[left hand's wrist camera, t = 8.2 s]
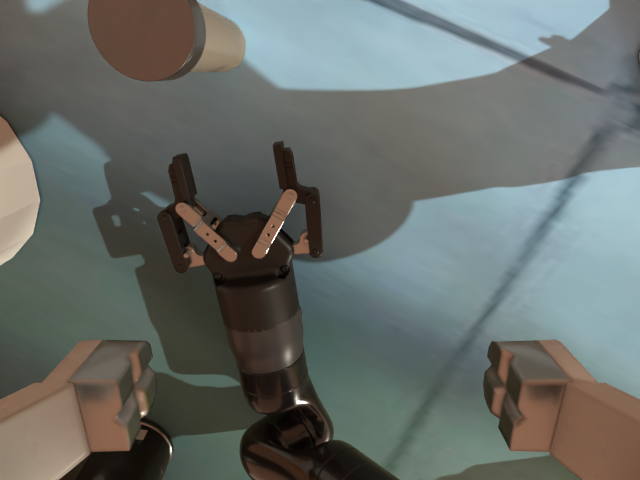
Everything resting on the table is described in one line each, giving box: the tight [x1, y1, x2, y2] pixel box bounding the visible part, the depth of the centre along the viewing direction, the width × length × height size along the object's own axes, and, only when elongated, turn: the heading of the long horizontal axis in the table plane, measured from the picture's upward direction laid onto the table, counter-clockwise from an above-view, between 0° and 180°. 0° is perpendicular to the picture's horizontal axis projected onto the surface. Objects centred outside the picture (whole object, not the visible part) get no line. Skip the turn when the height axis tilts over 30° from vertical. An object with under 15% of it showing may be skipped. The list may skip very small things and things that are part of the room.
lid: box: [88, 0, 206, 81], centre depth 23 cm, size 6×6×2 cm
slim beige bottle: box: [190, 3, 246, 72], centre depth 31 cm, size 5×5×18 cm
